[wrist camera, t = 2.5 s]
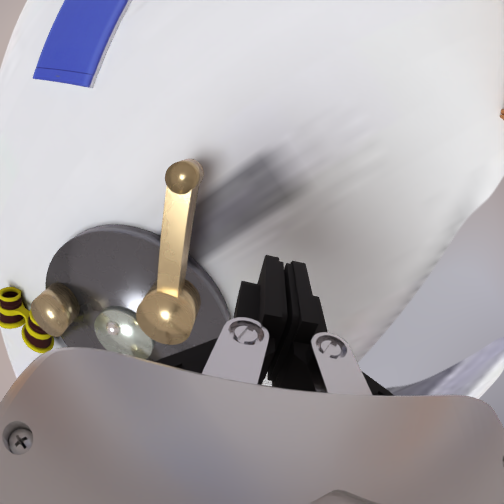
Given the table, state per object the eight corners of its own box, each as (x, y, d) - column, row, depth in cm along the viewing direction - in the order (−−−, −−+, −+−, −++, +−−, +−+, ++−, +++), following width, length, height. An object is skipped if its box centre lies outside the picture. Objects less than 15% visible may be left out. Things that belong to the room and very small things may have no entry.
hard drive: (80, -30, 12) (30, 78, 17) (146, -35, 13) (86, 87, 18) (88, -25, 13) (40, 79, 18) (152, -28, 14) (96, 88, 19)
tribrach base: (216, 402, 32) (210, 437, 27) (70, 355, 31) (52, 381, 26) (252, 253, 24) (248, 287, 19) (48, 207, 23) (12, 225, 18)
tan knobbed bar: (197, 324, 24) (188, 350, 21) (150, 312, 24) (136, 335, 21) (225, 163, 19) (216, 170, 16) (164, 153, 18) (145, 158, 15)
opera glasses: (62, 311, 29) (41, 328, 25) (60, 342, 31) (41, 360, 26) (13, 279, 28) (-10, 290, 24) (12, 310, 29) (-8, 323, 25)
